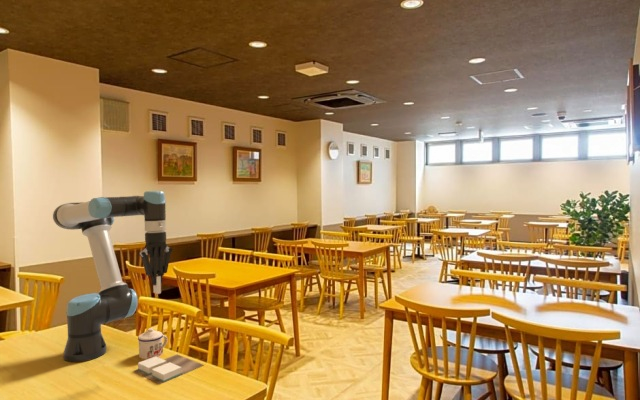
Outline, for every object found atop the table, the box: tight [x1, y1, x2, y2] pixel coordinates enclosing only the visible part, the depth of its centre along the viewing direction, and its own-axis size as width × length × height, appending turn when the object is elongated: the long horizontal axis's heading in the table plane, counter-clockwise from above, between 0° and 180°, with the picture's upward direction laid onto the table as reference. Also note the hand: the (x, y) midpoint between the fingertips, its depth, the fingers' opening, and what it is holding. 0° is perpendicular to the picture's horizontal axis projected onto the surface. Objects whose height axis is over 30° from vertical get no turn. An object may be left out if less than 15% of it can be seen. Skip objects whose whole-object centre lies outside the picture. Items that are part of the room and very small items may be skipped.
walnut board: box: [133, 353, 205, 385], centre depth 152 cm, size 17×18×2 cm
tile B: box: [152, 362, 182, 383], centre depth 147 cm, size 7×2×7 cm
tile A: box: [137, 356, 167, 375], centre depth 152 cm, size 7×2×7 cm
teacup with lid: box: [137, 327, 168, 360], centre depth 166 cm, size 12×9×12 cm
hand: (157, 292), depth 161 cm, fingers closed
